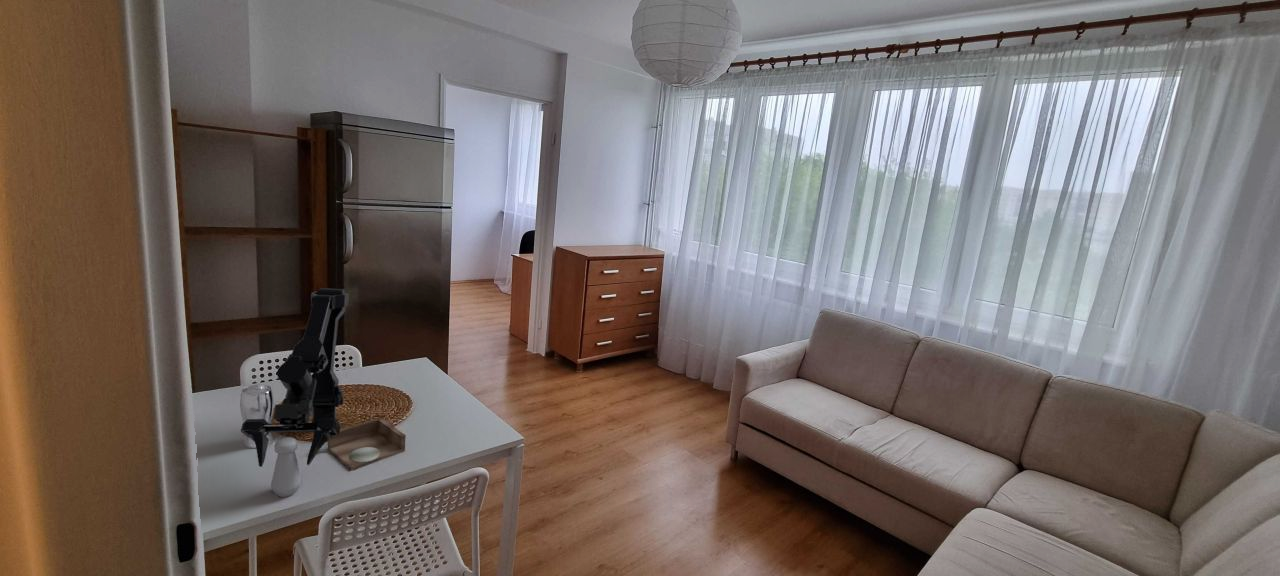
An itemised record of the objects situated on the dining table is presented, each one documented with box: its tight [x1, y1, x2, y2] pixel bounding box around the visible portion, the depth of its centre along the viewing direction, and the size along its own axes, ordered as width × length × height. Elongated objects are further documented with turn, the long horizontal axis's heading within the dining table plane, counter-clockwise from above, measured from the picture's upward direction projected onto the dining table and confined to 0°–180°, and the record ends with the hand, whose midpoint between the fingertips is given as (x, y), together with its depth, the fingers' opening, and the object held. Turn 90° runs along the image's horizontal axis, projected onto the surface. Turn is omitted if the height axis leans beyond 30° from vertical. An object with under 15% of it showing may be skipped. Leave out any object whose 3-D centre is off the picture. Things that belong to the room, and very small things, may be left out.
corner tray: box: [327, 417, 406, 471], centre depth 140 cm, size 13×14×5 cm
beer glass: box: [239, 383, 275, 449], centre depth 136 cm, size 7×7×15 cm
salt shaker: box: [270, 437, 302, 498], centre depth 119 cm, size 6×6×13 cm
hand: (284, 465), depth 118 cm, fingers open, 9 cm apart
